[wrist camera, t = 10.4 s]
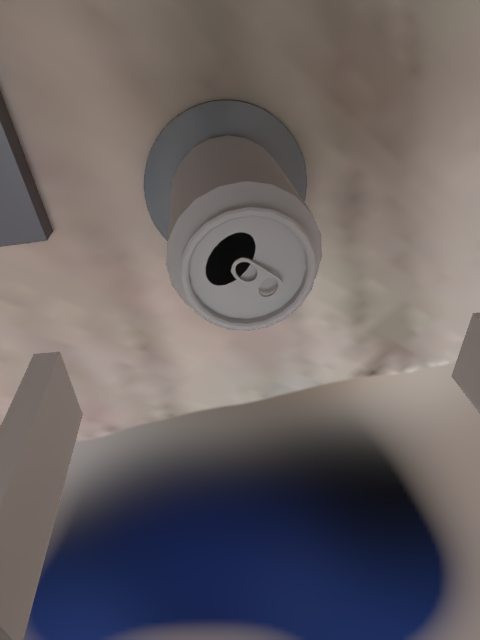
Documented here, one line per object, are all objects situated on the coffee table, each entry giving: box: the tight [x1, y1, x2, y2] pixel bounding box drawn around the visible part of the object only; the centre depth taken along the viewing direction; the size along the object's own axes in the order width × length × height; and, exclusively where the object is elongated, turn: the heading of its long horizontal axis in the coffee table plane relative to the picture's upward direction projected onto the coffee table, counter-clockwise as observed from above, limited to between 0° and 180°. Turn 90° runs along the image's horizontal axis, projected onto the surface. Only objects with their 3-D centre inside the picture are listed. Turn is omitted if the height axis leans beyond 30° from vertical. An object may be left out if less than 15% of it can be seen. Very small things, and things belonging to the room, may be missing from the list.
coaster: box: [144, 100, 307, 241], centre depth 29 cm, size 11×11×1 cm
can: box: [166, 135, 322, 331], centre depth 24 cm, size 8×8×12 cm
